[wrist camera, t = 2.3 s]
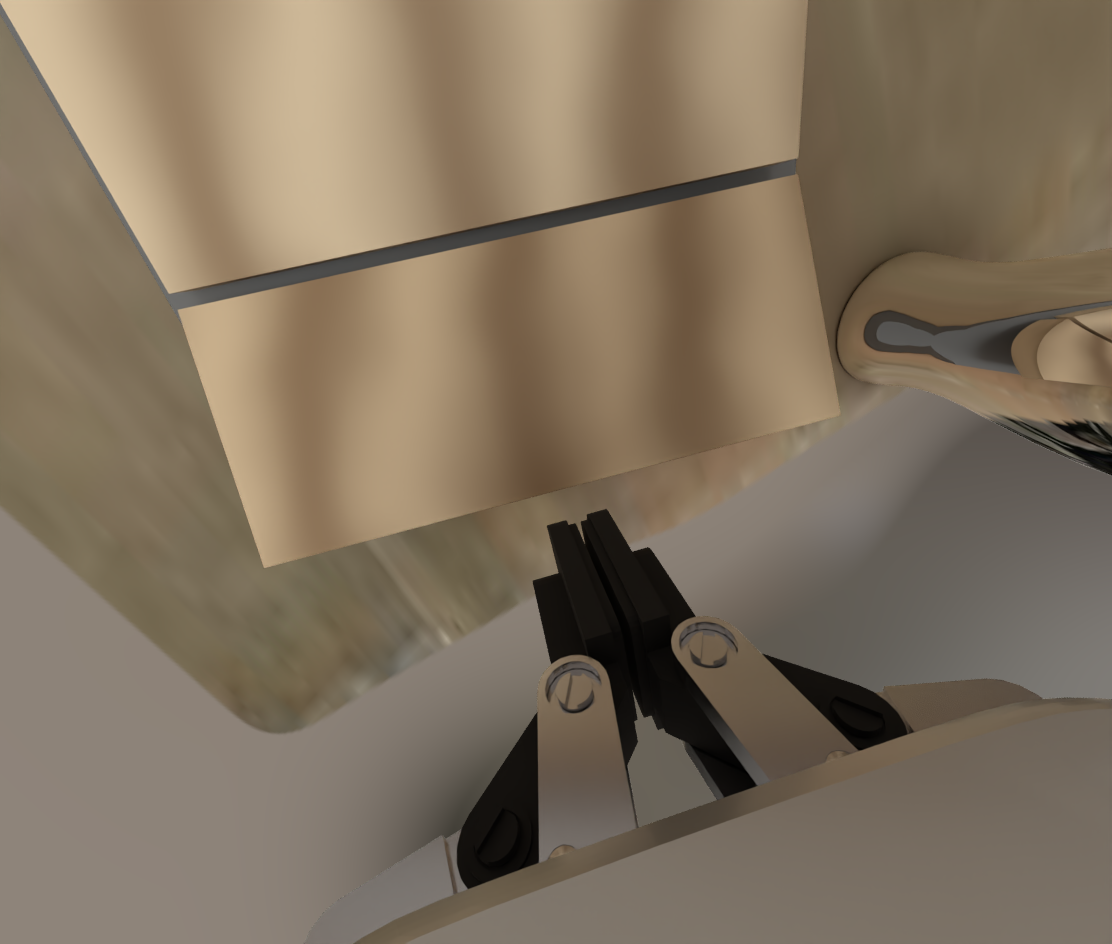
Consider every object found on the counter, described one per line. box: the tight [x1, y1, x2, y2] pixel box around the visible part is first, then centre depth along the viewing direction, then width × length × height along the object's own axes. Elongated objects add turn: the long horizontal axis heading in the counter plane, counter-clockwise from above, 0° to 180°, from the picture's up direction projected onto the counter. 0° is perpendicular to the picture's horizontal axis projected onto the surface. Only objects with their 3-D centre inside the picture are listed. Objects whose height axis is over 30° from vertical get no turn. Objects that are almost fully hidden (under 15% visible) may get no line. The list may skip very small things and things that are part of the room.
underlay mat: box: [0, 3, 796, 326], centre depth 16 cm, size 24×20×1 cm
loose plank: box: [178, 174, 841, 568], centre depth 16 cm, size 22×9×2 cm, turn 101°
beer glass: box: [837, 248, 1112, 476], centre depth 15 cm, size 7×7×15 cm
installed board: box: [0, 0, 808, 294], centre depth 13 cm, size 22×9×2 cm, turn 101°
